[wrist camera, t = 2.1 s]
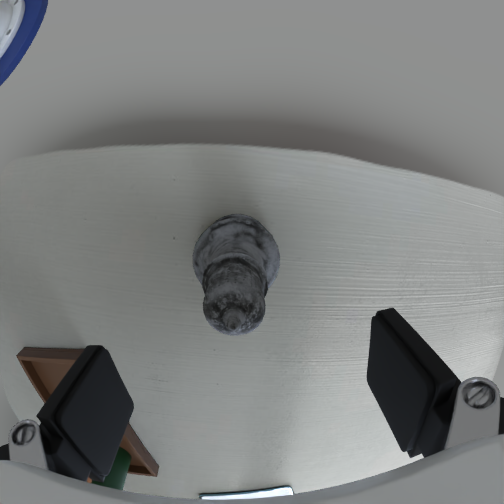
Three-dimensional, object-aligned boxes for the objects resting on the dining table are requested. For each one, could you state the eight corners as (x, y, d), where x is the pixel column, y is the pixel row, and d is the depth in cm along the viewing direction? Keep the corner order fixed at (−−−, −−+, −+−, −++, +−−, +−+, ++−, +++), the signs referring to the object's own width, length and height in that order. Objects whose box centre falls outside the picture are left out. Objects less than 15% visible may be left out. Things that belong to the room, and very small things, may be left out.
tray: (24, 346, 25) (15, 355, 23) (88, 348, 25) (80, 359, 23) (99, 458, 32) (95, 467, 30) (159, 466, 32) (157, 476, 30)
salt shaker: (216, 198, 21) (188, 233, 10) (286, 228, 22) (332, 292, 11) (189, 265, 23) (146, 355, 11) (255, 292, 24) (267, 396, 12)
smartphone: (290, 484, 34) (197, 493, 35) (290, 486, 34) (197, 495, 34) (295, 498, 36) (212, 507, 37) (296, 500, 36) (212, 509, 36)
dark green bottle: (93, 439, 29) (66, 506, 17) (122, 444, 29) (99, 517, 17) (108, 458, 31) (88, 521, 18) (137, 462, 31) (119, 531, 18)
